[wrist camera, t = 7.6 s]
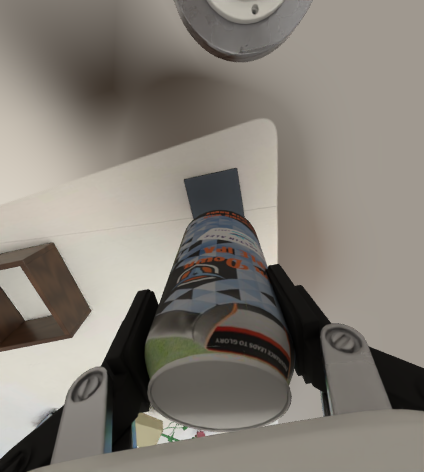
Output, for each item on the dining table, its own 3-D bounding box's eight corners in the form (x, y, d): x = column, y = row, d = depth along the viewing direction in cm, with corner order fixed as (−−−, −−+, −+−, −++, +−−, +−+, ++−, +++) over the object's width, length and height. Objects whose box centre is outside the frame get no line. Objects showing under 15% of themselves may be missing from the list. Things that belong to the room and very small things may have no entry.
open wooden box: (-26, 259, 33) (-72, 279, 27) (53, 242, 32) (22, 259, 27) (23, 324, 38) (-8, 353, 33) (91, 311, 38) (72, 337, 32)
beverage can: (266, 232, 17) (392, 370, 6) (214, 289, 19) (239, 474, 8) (209, 188, 16) (245, 270, 4) (158, 256, 17) (92, 433, 6)
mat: (183, 179, 30) (183, 179, 29) (236, 167, 29) (237, 168, 29) (197, 234, 33) (197, 235, 33) (245, 224, 33) (245, 225, 32)
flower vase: (115, 344, 51) (230, 416, 51) (89, 385, 51) (205, 456, 51) (87, 377, 39) (236, 469, 40) (53, 430, 39) (204, 522, 40)
